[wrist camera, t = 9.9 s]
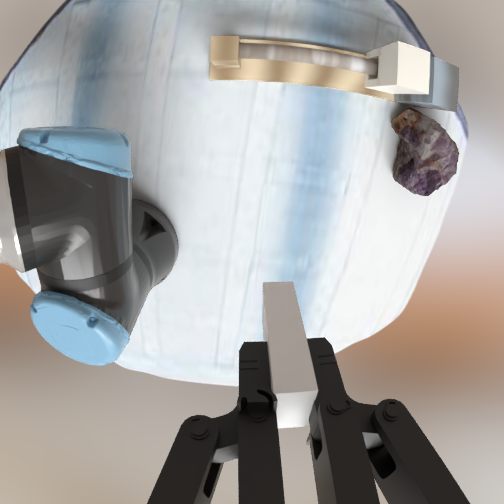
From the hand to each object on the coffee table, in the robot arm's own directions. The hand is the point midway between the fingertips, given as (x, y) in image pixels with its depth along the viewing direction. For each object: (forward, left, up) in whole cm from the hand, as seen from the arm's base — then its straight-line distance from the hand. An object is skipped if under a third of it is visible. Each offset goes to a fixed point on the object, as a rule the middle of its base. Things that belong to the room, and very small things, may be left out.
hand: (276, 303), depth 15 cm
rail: (+8, +16, -29) cm, 34 cm away
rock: (+23, +7, -29) cm, 38 cm away
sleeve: (+14, +16, -24) cm, 33 cm away
